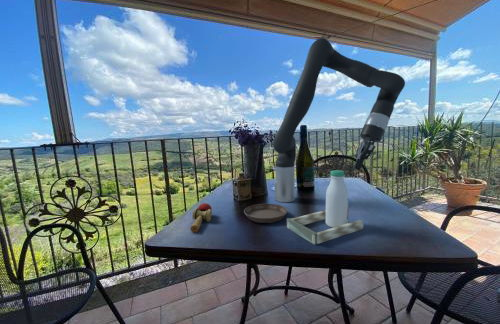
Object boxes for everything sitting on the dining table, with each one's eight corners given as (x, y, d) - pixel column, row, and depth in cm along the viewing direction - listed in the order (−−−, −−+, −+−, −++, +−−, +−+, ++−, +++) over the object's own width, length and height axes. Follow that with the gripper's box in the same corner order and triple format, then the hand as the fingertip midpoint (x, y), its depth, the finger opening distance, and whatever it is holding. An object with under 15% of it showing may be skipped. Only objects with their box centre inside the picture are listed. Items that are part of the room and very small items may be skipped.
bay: (331, 215, 92) (331, 207, 91) (363, 228, 79) (363, 219, 79) (286, 227, 82) (286, 218, 82) (314, 244, 69) (314, 234, 69)
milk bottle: (346, 230, 78) (347, 173, 75) (323, 226, 82) (323, 172, 79) (349, 222, 84) (350, 169, 82) (328, 219, 88) (328, 168, 86)
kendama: (208, 235, 81) (216, 211, 99) (203, 220, 80) (212, 198, 97) (187, 239, 82) (199, 214, 99) (182, 224, 80) (195, 201, 98)
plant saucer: (255, 207, 106) (254, 201, 105) (292, 212, 98) (292, 205, 97) (236, 221, 90) (236, 214, 90) (279, 228, 82) (278, 220, 82)
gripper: (359, 127, 93) (342, 166, 93) (371, 119, 80) (351, 164, 80) (377, 134, 92) (360, 173, 92) (392, 127, 79) (373, 173, 79)
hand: (356, 169), depth 86 cm, fingers closed
